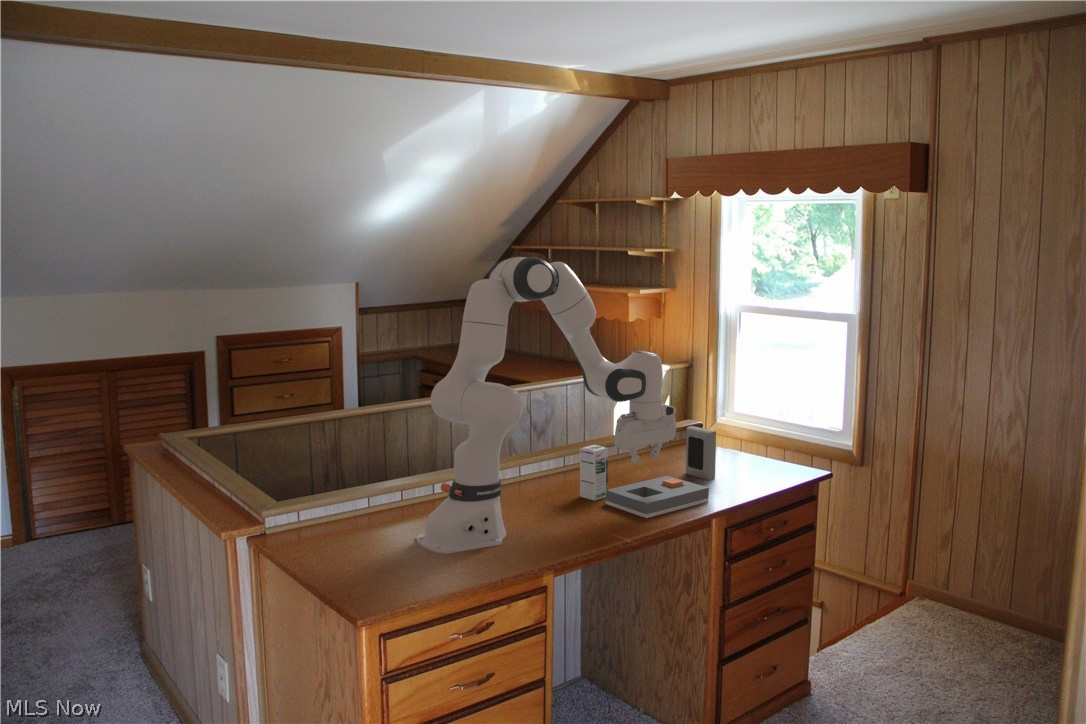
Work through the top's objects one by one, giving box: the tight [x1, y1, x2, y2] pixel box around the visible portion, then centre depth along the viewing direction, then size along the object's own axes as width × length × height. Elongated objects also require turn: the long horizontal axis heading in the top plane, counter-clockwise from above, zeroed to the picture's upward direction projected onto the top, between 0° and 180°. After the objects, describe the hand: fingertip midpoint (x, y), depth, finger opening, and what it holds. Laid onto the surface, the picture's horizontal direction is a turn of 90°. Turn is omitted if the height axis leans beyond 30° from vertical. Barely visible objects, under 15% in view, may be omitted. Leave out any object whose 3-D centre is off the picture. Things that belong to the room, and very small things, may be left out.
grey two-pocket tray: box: [605, 475, 710, 519], centre depth 253 cm, size 24×16×4 cm, turn 128°
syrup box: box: [579, 444, 609, 501], centre depth 258 cm, size 6×6×14 cm
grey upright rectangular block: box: [685, 425, 717, 481], centre depth 279 cm, size 10×4×15 cm, turn 40°
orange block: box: [663, 477, 683, 488], centre depth 257 cm, size 4×4×2 cm
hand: (645, 460), depth 249 cm, fingers open, 6 cm apart
